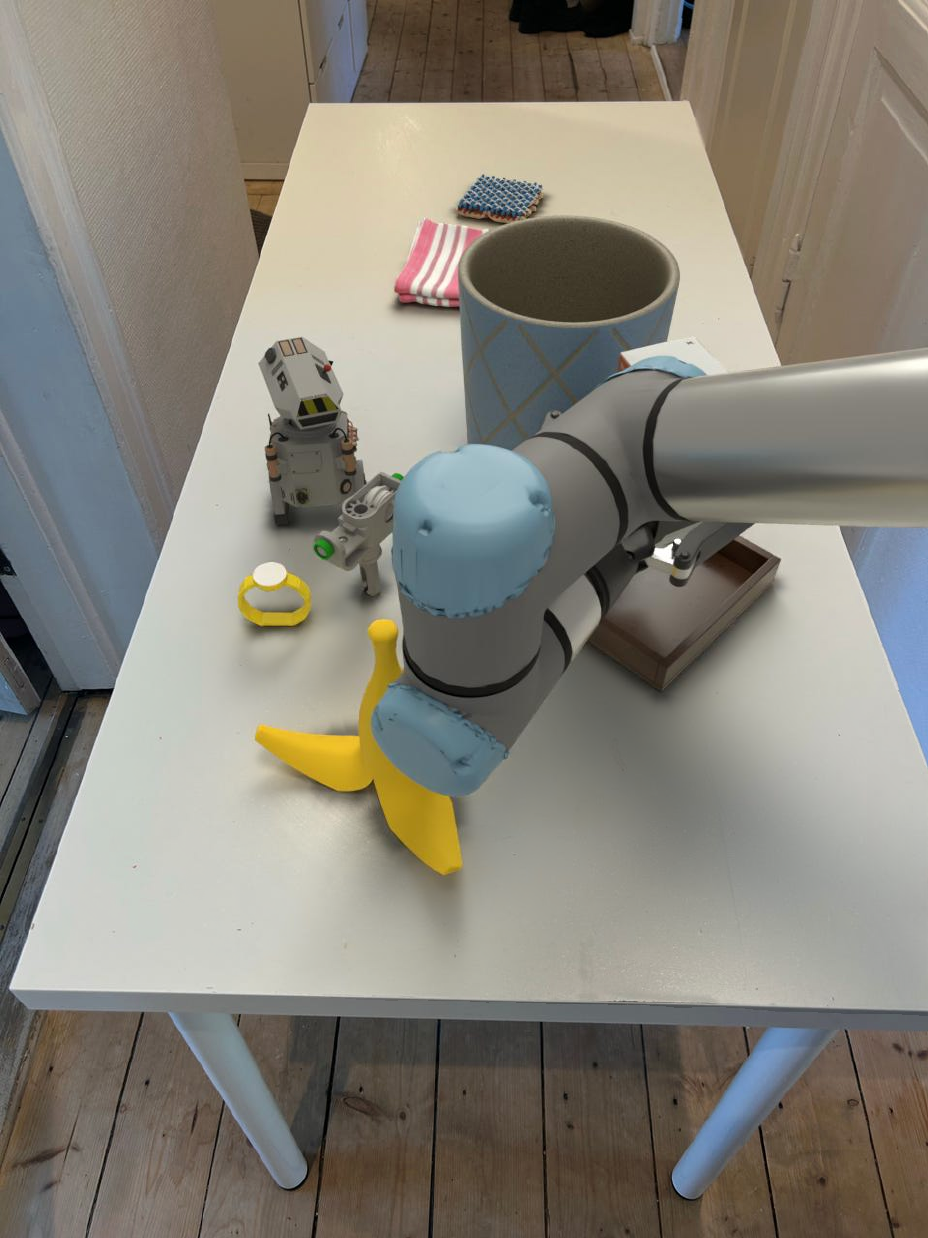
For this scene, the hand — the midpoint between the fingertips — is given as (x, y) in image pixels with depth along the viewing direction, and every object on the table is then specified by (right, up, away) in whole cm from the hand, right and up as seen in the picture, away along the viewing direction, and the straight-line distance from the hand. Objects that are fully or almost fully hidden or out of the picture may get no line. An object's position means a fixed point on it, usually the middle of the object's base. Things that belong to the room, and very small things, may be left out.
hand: (693, 408), depth 70 cm
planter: (-9, +1, +23) cm, 24 cm away
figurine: (-32, -4, +19) cm, 37 cm away
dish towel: (-14, +27, +45) cm, 55 cm away
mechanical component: (-26, -14, +11) cm, 31 cm away
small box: (-2, -8, +3) cm, 9 cm away
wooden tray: (-2, -13, +10) cm, 17 cm away
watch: (-34, -17, +8) cm, 39 cm away
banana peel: (-25, -28, -1) cm, 37 cm away
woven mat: (-13, +42, +58) cm, 73 cm away
